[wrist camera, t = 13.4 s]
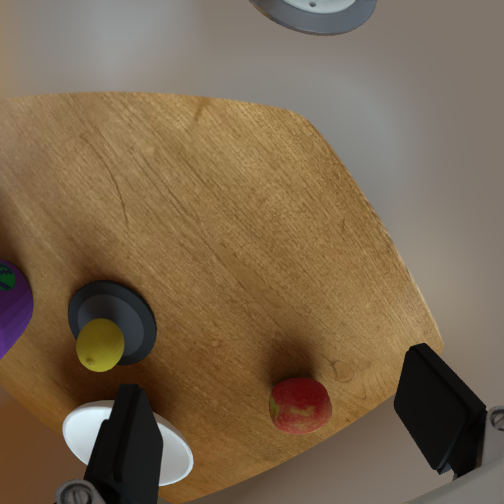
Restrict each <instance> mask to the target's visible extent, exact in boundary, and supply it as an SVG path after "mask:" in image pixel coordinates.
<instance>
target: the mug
mask: <svg viewBox="0 0 504 504" xmlns="http://www.w3.org/2000/svg"><path fill="white" fill-rule="evenodd" d="M32 312H33V297H32V293H31V289H30V287H29V285H28V282H27V280H26V279H25V277H24V276H23V274H22V273H21V272H20V271H19V270H18V269H17V268H16V267H15V266H14V265H13V264H11V263H10V262H8V261H5V260H1V259H0V359H1V358H2V357H3V356H4V355H5V354H6V353H7V351H8V350H9V349H10V348H11V347H12V346H13V344H14V343H15V342H16V341H17V339H18V338H19V337H20V336H21V334H22V333H23V332H24V330H25V329H26V327H27V325H28V323H29V321H30V319H31V317H32Z"/></svg>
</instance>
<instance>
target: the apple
mask: <svg viewBox="0 0 504 504" xmlns="http://www.w3.org/2000/svg"><path fill="white" fill-rule="evenodd" d="M269 411H270V416H271V419H272V422H273V423H274V425H275V426H276V427H277V428H278V429H279V430H281V431H283V432H285V433H288V434H294V435H301V434H308V433H312V432H314V431H316V430H318V429H320V428H321V427H322V426H324V425H325V424H326V423H327V422H328V421H329V419H330V417H331V415H332V406H331V402H330V398H329V396H328V393H327V390H326V389H325V387H324V386H323V385H322V384H321V383H319V382H318V381H316V380H313V379H309V378H302V377H298V378H291V379H287V380H284V381H282V382H280V383H278V384H277V385H275V386H274V388H273V390H272V392H271V396H270V401H269Z"/></svg>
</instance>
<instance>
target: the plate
mask: <svg viewBox="0 0 504 504" xmlns="http://www.w3.org/2000/svg"><path fill="white" fill-rule="evenodd" d="M100 318H103V319H108V320H110V321H112V322H114V323H115V324H116V325H117V326H118V327H119V328H120V330H121V331H122V334H123V336H124V351H123V354H122V356H121V358H120V360H119V361H118V362H117V364H116V365H130V364H133V363H136V362H138V361H140V360H142V359H143V358H145V357H146V356H147V355H148V354H149V353H150V351H151V350H152V348H153V346H154V343H155V340H156V334H157V328H156V321H155V318H154V315H153V313H152V311H151V309H150V307H149V306H148V304H147V303H146V301H145V300H144V299H143V298H142V297H141V296H140V295H139V294H138V293H137V292H135V291H134V290H132V289H131V288H129V287H127V286H125V285H123V284H121V283H118V282H114V281H108V280H99V281H94V282H90V283H88V284H86V285H84V286H83V287H81V288H80V289H79V290H78V291H77V292H76V294H75V295H74V296H73V298H72V300H71V302H70V305H69V310H68V319H69V325H70V328H71V331H72V333H73V335H74V337H75V339H76V340H77V338H78V335H79V333H80V331H81V330H82V328H83V327H84V326H85V325H86V324H87V323H88V322H90V321H92V320H94V319H100Z"/></svg>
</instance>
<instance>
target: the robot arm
mask: <svg viewBox="0 0 504 504" xmlns="http://www.w3.org/2000/svg"><path fill="white" fill-rule="evenodd" d="M283 1H285V2H286V3H288V4H290V5H292V6H294V7H296V8H299V9H302V10H305V11H309V12H313V13H322V14H324V13H335V12H339V11H342V10H344V9H346V8H348V7H349V6H350V5H352V4H353V3H354V2H355V0H283ZM311 6H312V7H311ZM394 409H395V411H396V413H397V414H398V416H399V417H400V419H401V420H402V422H403V424H404V425H405V427H406V428H407V430H408V431H409V433H410V434H411V436H412V438H413V439H414V441H415V442H416V444H417V446H418V447H419V449H420V450H421V452H422V454H423V455H424V457H425V458H426V460H427V462H428V463H429V465H430V466H431V468H432V469H434V470H437V472H438V473H439V475H441V474H443V473H445V472H447V471H449V470H451V468H452V470H453V471H454V476H453V480H452V482H450V483H448V484H446V485H443V486H441V487H439V488H437V489H435V490H433V491H431V492H429V493H427V494H424V495H422V496H420V497H417V498H415V499H413V500H410V501H408V502H405V503H403V504H504V406H496V407H493V408H491V409H490V410H489V411H488V412H487V411H486V405H485V404H484V403H483V402H482V401H481V400H480V399H479V398H478V397H477V396H476V395H475V394H474V392H473V391H472V390H471V389H470V388H469V387H468V386H467V385H466V384H465V383H464V382H463V381H462V380H461V379H460V378H459V377H458V376H457V374H456V373H455V372H454V371H453V370H452V369H451V368H450V367H449V366H448V365H447V364H446V363H445V362H444V361H443V360H442V359H441V358H440V357H439V356H438V355H437V354H436V353H435V352H434V351H433V350H432V349H431V348H430V347H429V346H428V345H427V344H426V343H421V344H417V345H414V346H411V347H410V348H409V351H407V352H406V354H405V359H404V363H403V368H402V372H401V376H400V380H399V384H398V388H397V392H396V396H395V399H394ZM163 445H164V443H163V437H162V434H161V432H160V429H159V427H158V424H157V422H156V419H155V417H154V414H153V412H152V409H151V406H150V404H149V401H148V398H147V395H146V392H145V390H144V388H139V385H138V384H121V385H120V387H119V390H118V393H117V396H116V399H115V401H114V404H113V407H112V410H111V413H110V416H109V419H104V420H103V421H102V423H101V426H100V428H99V431H98V434H97V437H96V440H95V443H94V446H93V449H92V453H91V456H90V459H89V462H88V465H87V469H86V472H85V475H84V479H83V480H82V479H72V480H68V481H66V482H65V483H63V484H62V485H61V486H60V487H59V488H58V490H57V493H56V503H54V504H157V499H158V489H159V480H160V471H161V462H162V454H163Z"/></svg>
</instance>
